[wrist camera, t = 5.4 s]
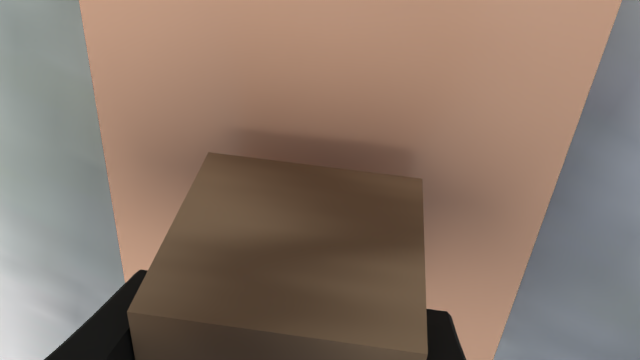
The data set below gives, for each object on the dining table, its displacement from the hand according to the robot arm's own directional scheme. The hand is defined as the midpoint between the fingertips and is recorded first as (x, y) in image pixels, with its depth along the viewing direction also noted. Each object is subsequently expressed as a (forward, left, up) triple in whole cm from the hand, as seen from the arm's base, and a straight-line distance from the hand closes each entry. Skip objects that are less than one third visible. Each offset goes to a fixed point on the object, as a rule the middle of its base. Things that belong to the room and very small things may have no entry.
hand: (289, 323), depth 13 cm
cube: (0, +1, -3) cm, 3 cm away
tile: (0, 0, -6) cm, 6 cm away
